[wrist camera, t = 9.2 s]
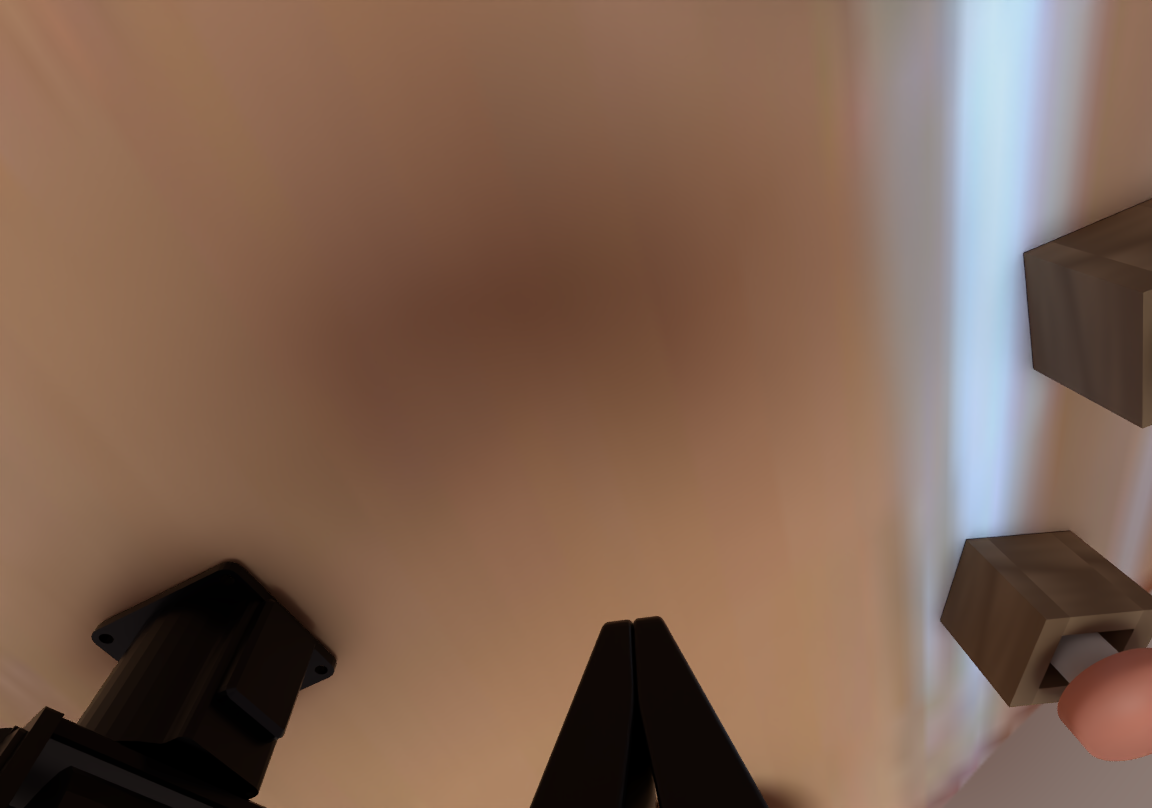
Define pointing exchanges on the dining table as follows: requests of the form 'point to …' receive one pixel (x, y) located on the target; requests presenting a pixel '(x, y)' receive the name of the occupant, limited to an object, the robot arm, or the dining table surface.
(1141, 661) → the red rounded knob
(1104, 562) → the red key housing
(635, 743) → the robot arm
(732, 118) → the dining table surface
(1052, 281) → the ivory key housing
